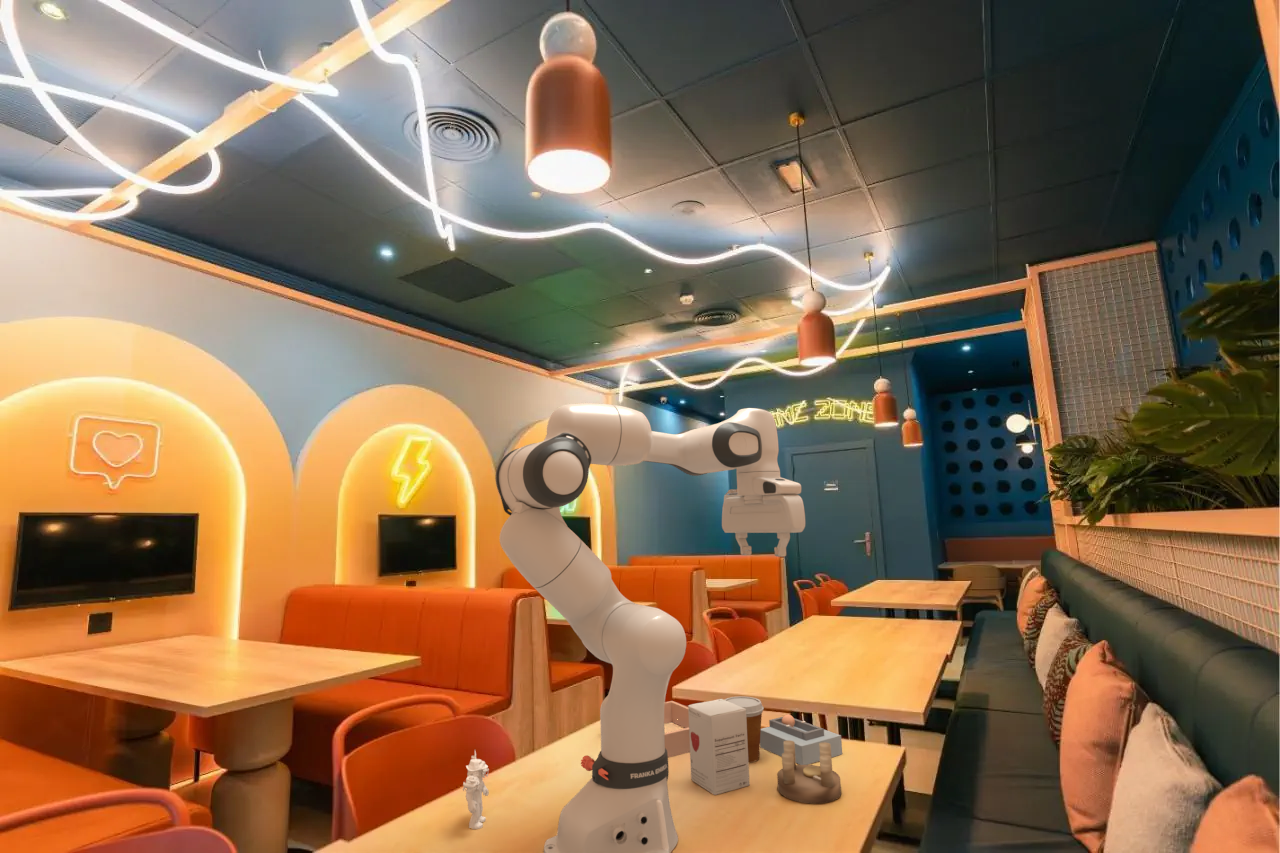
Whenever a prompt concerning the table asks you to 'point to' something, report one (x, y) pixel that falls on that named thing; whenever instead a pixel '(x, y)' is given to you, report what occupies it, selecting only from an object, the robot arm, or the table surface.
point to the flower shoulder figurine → (476, 791)
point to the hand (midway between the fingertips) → (762, 555)
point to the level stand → (799, 740)
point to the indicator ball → (788, 720)
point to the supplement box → (718, 746)
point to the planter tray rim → (677, 739)
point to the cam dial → (808, 777)
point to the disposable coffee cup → (751, 723)
